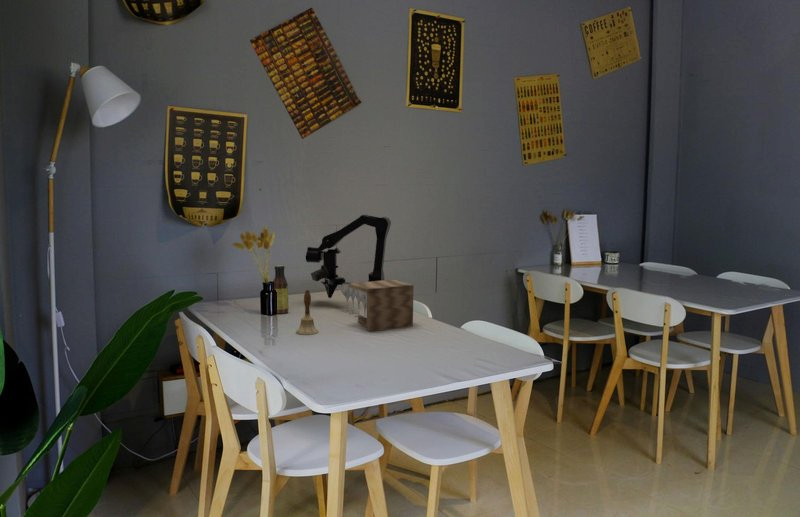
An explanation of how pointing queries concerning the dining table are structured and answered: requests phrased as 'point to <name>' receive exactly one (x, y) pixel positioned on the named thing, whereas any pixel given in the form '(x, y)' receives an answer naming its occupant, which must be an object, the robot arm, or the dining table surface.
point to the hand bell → (307, 318)
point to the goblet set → (353, 292)
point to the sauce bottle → (281, 289)
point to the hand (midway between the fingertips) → (329, 297)
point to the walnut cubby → (386, 304)
